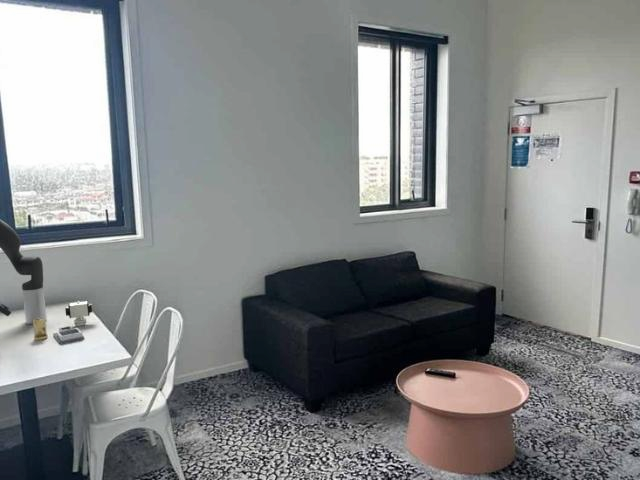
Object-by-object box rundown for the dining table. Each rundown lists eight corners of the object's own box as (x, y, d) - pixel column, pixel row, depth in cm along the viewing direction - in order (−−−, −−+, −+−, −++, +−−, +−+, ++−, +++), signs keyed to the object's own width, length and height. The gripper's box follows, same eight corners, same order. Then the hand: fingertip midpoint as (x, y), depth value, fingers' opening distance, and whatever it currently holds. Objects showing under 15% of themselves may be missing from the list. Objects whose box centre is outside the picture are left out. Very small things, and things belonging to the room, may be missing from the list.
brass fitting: (33, 338, 238) (31, 319, 237) (46, 335, 241) (44, 316, 240) (35, 341, 234) (33, 321, 233) (48, 338, 237) (46, 319, 236)
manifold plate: (53, 335, 241) (52, 329, 240) (76, 331, 247) (75, 324, 246) (59, 344, 229) (59, 337, 228) (84, 339, 235) (83, 332, 234)
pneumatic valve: (93, 324, 257) (91, 300, 255) (67, 328, 252) (64, 303, 250) (93, 321, 262) (91, 298, 260) (67, 325, 257) (65, 301, 255)
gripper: (-18, 286, 216) (17, 308, 224) (-21, 281, 227) (12, 302, 236) (-32, 301, 214) (4, 323, 222) (-34, 295, 225) (0, 315, 233)
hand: (8, 312), depth 229 cm, fingers open, 8 cm apart
